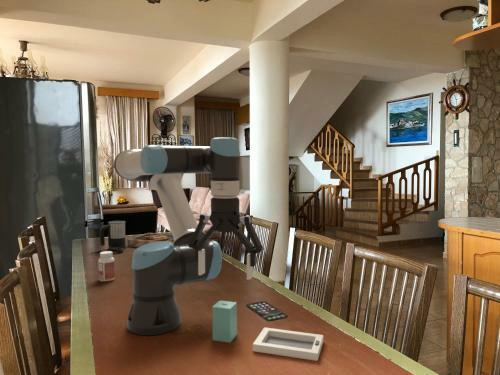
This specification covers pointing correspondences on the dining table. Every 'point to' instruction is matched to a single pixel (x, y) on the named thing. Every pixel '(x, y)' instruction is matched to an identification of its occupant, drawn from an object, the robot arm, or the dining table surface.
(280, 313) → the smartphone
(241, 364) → the dining table surface
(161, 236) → the decorative book
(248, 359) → the dining table surface
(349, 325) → the dining table surface
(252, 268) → the robot arm
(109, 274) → the pill bottle
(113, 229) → the milk frother
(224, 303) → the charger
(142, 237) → the book tray
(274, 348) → the white shallow tray
